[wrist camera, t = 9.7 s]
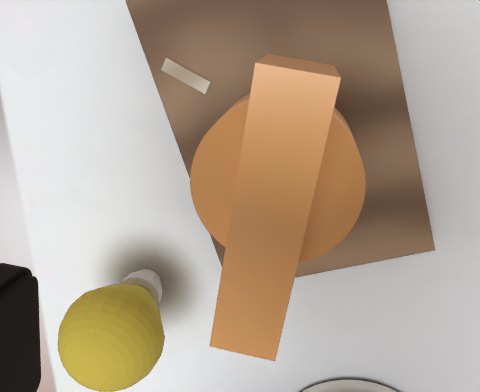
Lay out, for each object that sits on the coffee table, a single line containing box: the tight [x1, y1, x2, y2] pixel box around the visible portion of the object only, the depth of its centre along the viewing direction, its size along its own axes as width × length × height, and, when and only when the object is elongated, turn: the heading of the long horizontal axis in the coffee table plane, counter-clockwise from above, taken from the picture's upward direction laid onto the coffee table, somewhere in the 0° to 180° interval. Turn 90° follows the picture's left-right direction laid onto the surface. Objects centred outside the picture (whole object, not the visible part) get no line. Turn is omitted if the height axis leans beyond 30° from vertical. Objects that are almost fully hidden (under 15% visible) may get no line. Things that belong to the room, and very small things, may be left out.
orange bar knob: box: [190, 54, 366, 361], centre depth 18 cm, size 11×7×8 cm, turn 172°
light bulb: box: [58, 269, 165, 392], centre depth 31 cm, size 7×7×10 cm
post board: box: [126, 0, 435, 278], centre depth 26 cm, size 20×14×8 cm
